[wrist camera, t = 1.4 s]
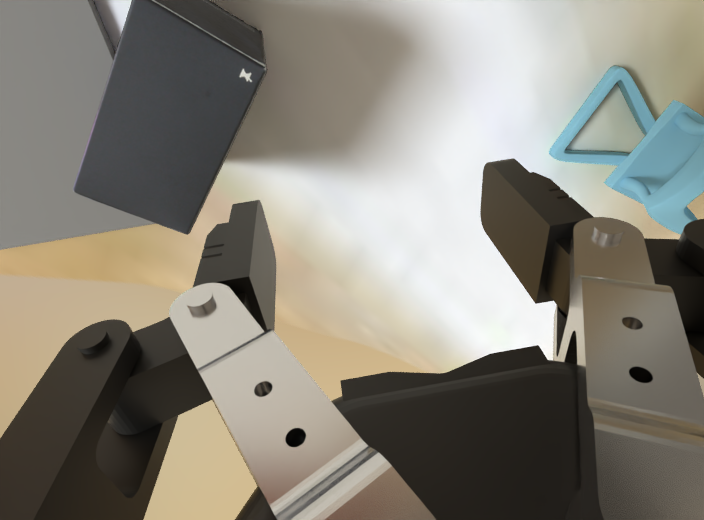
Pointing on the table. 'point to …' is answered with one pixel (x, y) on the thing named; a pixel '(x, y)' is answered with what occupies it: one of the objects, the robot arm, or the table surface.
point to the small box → (171, 109)
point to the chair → (647, 153)
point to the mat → (50, 120)
